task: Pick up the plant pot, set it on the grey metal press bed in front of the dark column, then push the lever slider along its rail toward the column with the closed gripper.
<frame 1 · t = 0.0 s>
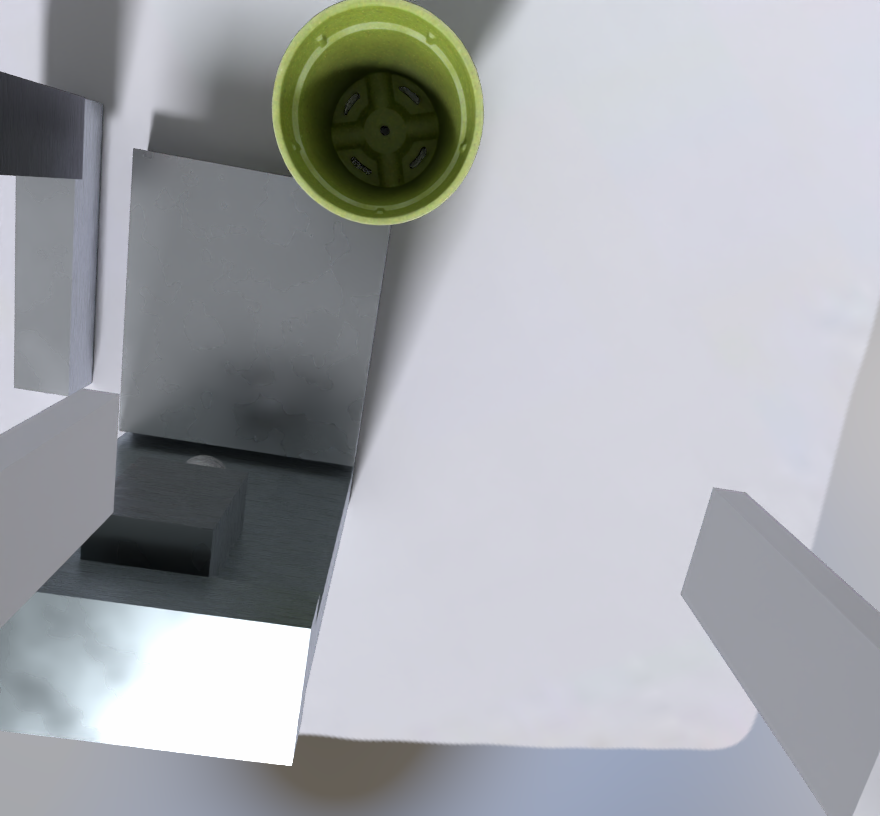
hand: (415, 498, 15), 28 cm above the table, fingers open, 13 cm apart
plant pot: (387, 133, 40), on the table
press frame: (258, 312, 42), on the table
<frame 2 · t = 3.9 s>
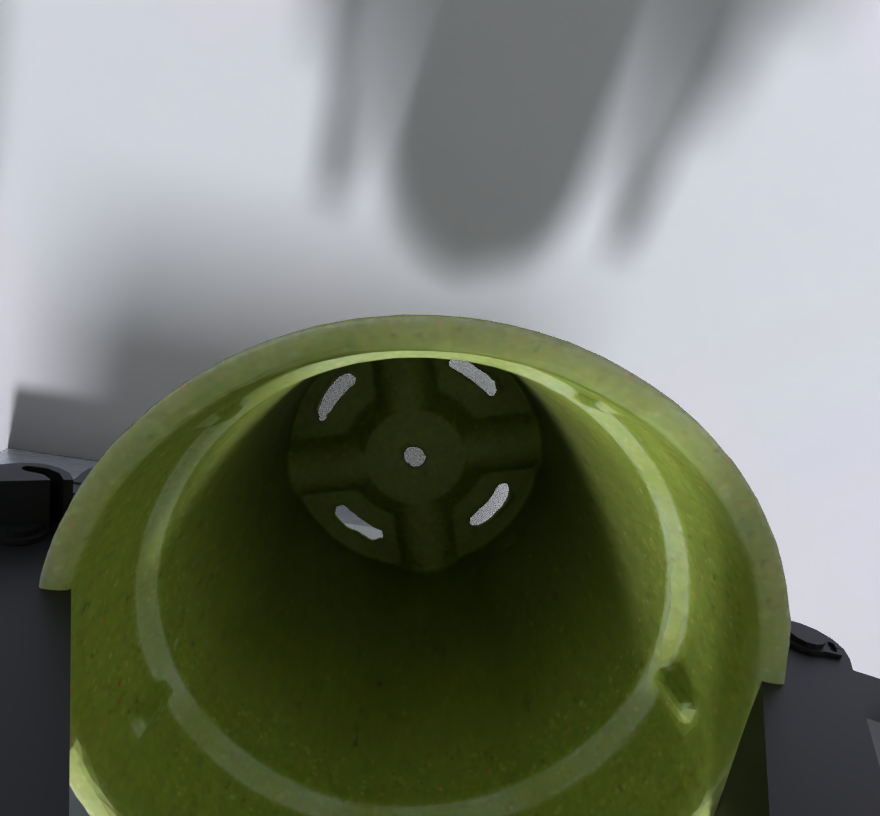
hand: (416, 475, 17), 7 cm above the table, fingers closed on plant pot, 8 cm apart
plant pot: (418, 448, 17), point 6 cm above the table, touching gripper
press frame: (199, 682, 26), on the table
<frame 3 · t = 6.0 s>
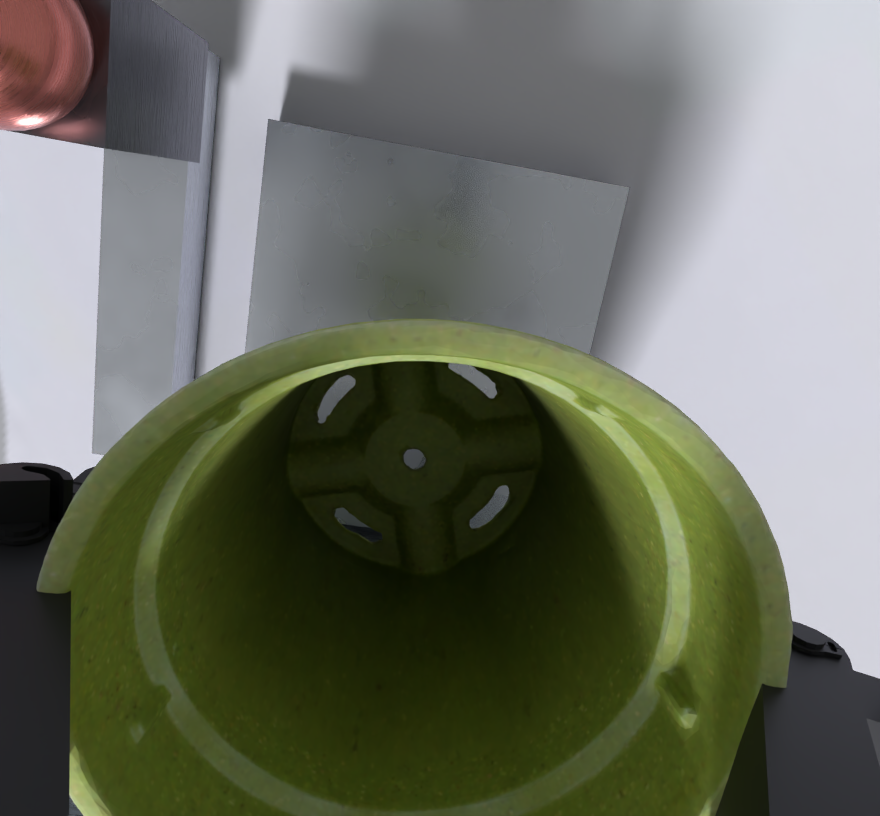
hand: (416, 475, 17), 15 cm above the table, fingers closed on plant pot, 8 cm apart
plant pot: (418, 450, 17), point 14 cm above the table, touching gripper
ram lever: (71, 64, 19), point 9 cm above the table, slide at 0.0 cm
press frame: (418, 346, 31), on the table
when the fingers open (2 cm above the table, at t = 8.5 s): plant pot stays where it is, resting on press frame.
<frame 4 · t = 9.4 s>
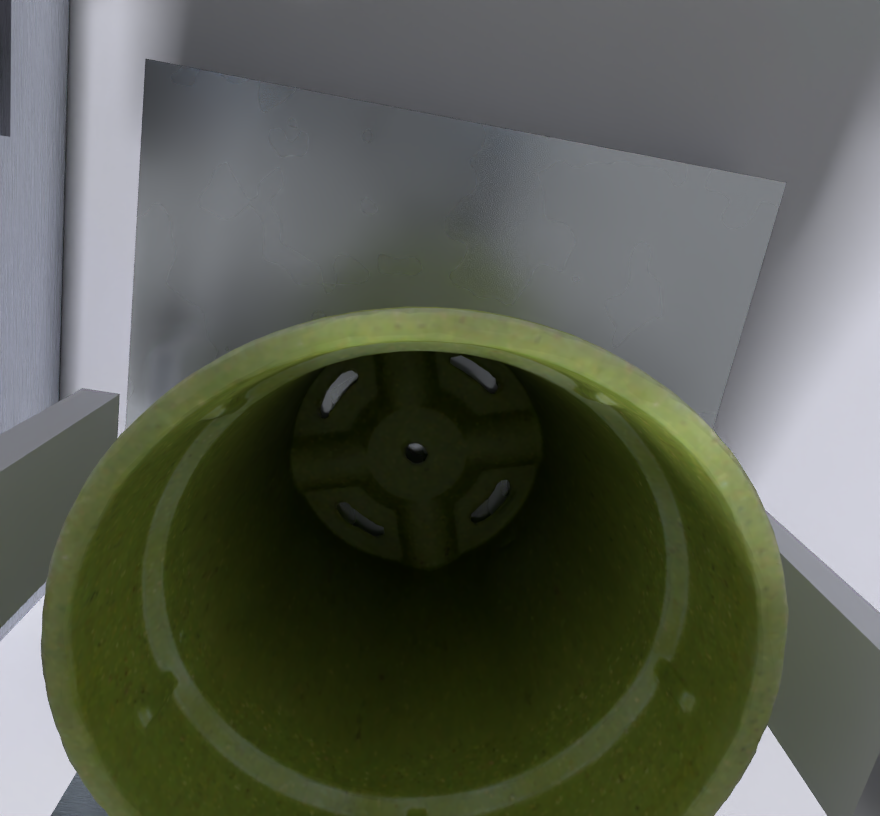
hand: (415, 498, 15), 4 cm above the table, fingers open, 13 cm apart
plant pot: (419, 445, 17), point 2 cm above the table, touching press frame
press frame: (416, 440, 19), on the table
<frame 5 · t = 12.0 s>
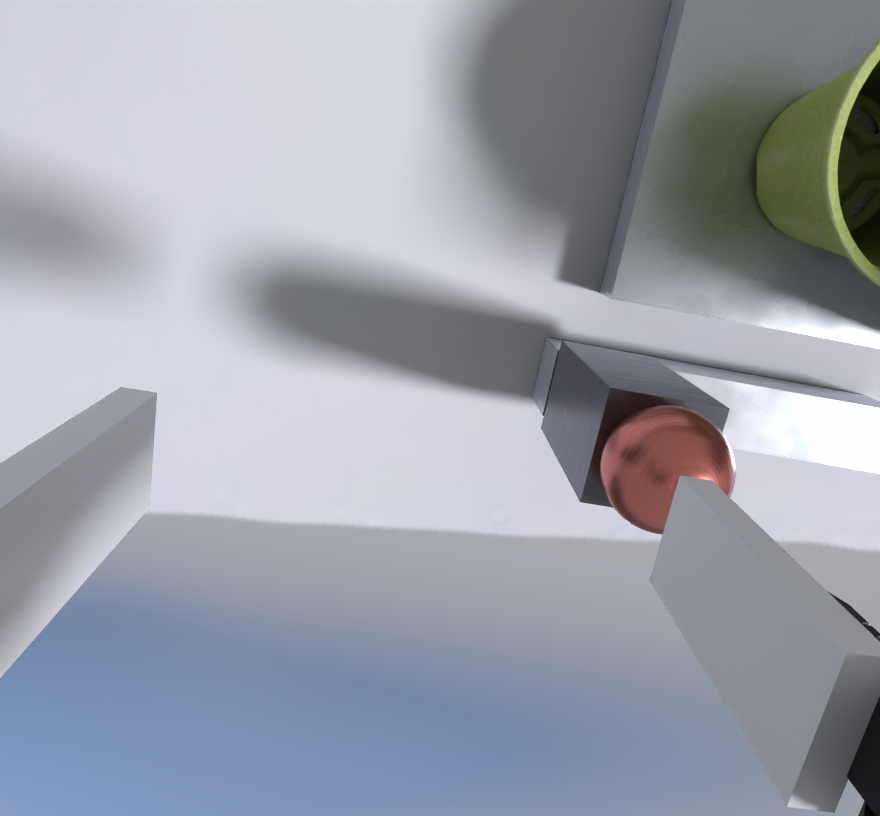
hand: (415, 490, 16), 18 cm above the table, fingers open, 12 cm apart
plant pot: (822, 165, 30), point 2 cm above the table, touching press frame
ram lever: (632, 433, 25), point 9 cm above the table, slide at 0.0 cm
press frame: (810, 170, 32), on the table
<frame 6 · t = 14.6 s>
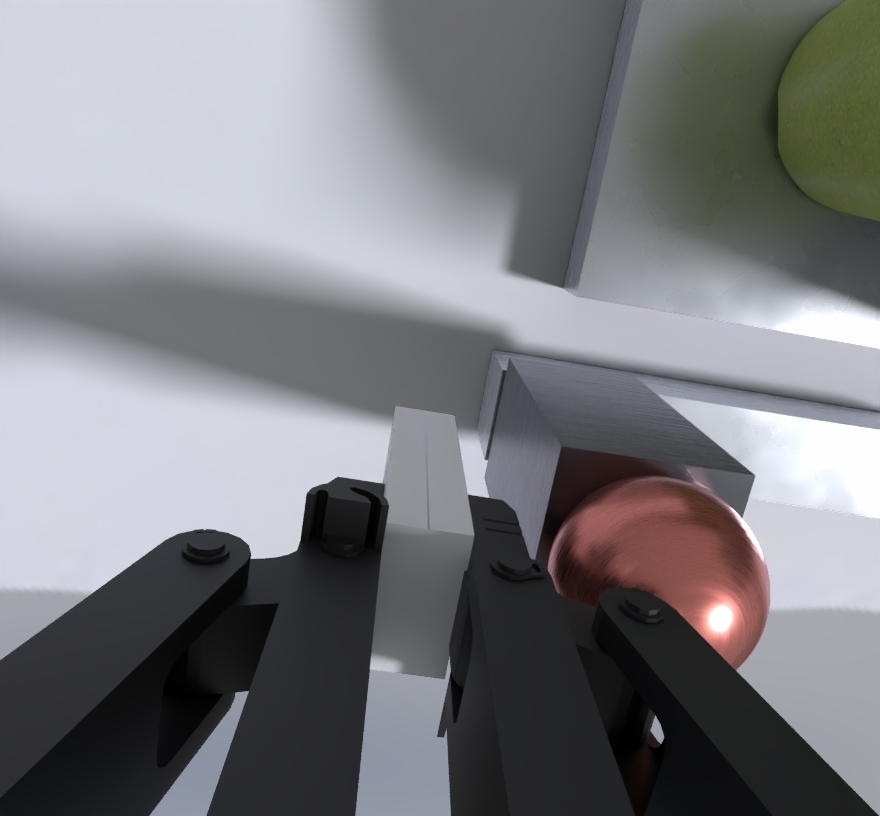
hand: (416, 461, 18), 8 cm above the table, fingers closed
plant pot: (869, 105, 21), point 2 cm above the table, touching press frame
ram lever: (604, 502, 17), point 9 cm above the table, slide at 0.1 cm, touching gripper
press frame: (849, 115, 23), on the table
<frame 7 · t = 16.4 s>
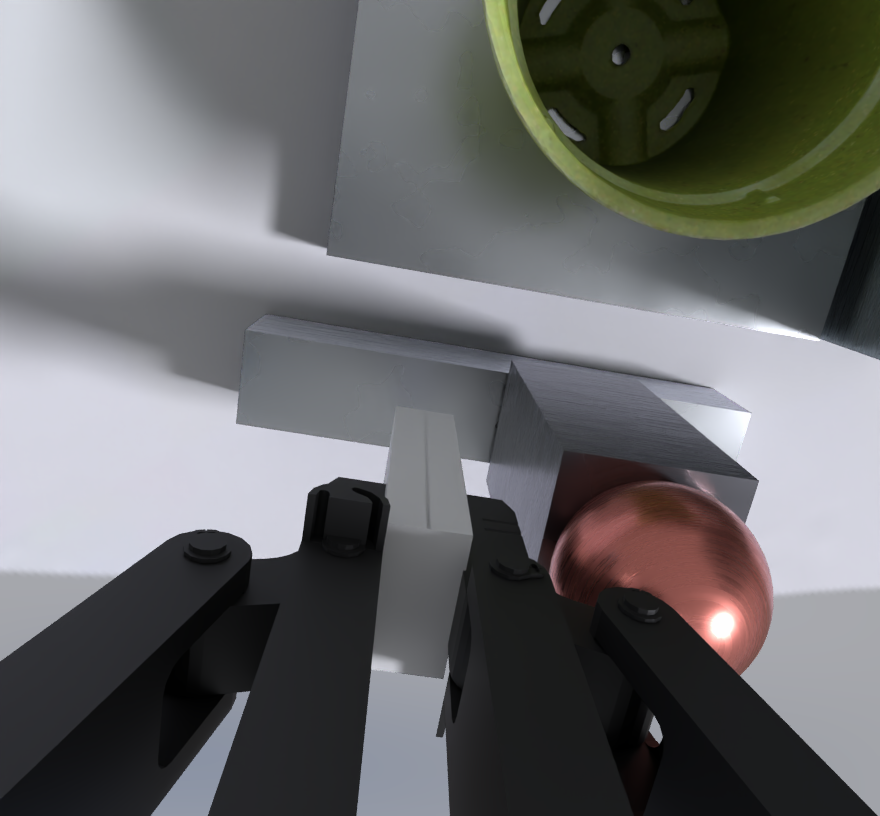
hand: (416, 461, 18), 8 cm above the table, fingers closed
plant pot: (616, 56, 20), point 2 cm above the table, touching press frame
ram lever: (606, 506, 17), point 9 cm above the table, slide at 8.0 cm, touching gripper
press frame: (616, 70, 22), on the table
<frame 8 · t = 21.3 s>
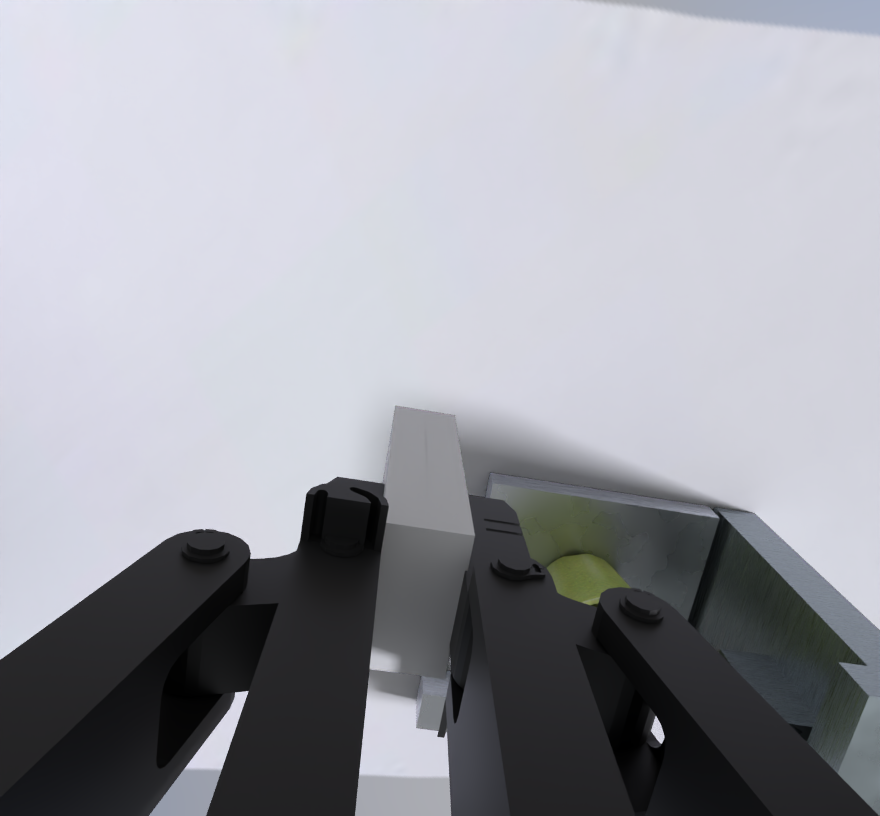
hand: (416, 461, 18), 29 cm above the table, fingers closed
plant pot: (577, 588, 50), point 2 cm above the table, touching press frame
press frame: (578, 576, 52), on the table
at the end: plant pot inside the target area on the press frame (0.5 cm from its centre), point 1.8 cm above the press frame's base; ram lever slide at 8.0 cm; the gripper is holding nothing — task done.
